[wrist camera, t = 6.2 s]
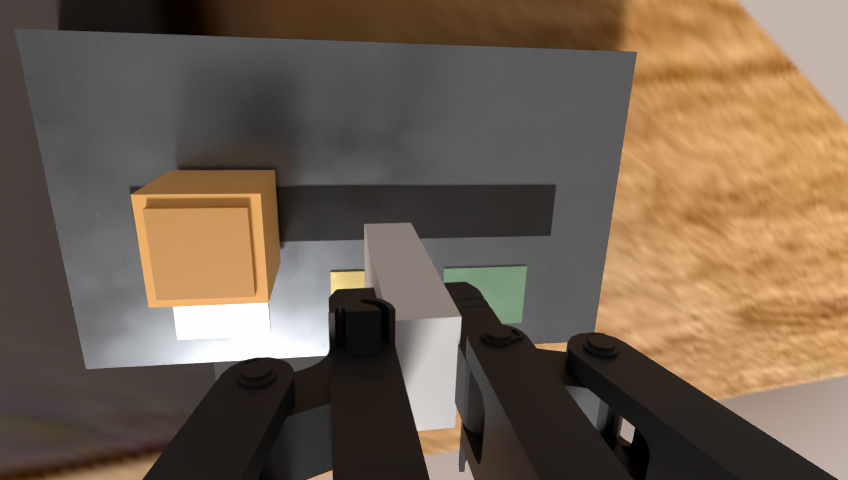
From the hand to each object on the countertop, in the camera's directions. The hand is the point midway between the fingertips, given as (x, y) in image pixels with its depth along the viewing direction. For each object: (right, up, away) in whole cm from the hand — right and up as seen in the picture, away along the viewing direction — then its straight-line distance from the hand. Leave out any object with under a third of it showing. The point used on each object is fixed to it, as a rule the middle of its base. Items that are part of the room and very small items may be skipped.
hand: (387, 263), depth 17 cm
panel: (-2, +3, +9) cm, 9 cm away
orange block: (-7, +2, +4) cm, 8 cm away
